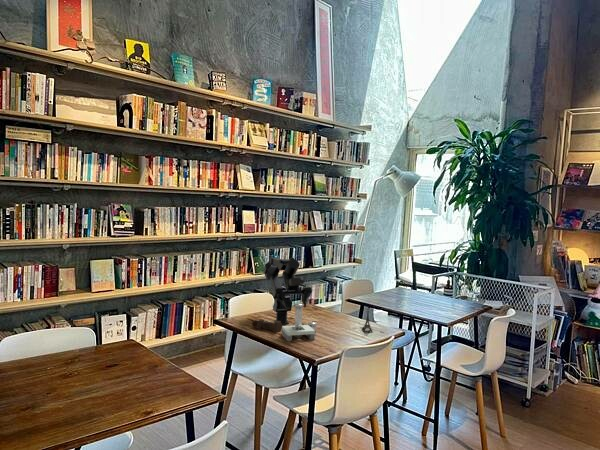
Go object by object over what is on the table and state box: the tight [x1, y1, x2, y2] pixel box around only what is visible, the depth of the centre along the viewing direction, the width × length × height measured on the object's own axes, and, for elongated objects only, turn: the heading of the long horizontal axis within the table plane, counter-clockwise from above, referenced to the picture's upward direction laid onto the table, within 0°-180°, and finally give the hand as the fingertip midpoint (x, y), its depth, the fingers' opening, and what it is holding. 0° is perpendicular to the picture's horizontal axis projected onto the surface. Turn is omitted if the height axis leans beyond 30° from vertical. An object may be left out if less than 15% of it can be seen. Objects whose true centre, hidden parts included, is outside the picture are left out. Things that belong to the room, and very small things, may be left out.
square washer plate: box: [281, 324, 316, 342], centre depth 205 cm, size 10×13×4 cm
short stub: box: [307, 321, 318, 334], centre depth 213 cm, size 4×4×5 cm
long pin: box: [293, 302, 304, 339], centre depth 205 cm, size 4×4×16 cm
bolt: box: [251, 319, 283, 333], centre depth 215 cm, size 6×5×15 cm
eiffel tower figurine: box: [351, 307, 386, 334], centre depth 219 cm, size 15×10×13 cm
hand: (296, 307), depth 208 cm, fingers open, 9 cm apart
